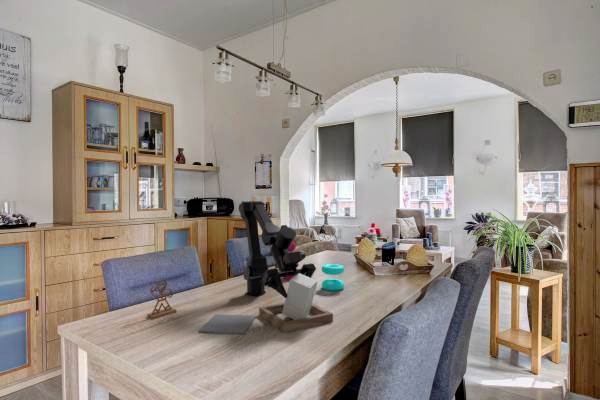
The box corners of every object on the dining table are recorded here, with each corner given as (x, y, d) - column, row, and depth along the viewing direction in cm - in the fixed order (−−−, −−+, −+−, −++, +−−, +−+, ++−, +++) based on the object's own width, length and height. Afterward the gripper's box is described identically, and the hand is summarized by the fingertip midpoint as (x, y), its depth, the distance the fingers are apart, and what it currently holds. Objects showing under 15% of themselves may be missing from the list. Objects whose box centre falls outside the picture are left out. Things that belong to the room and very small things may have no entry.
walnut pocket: (259, 314, 117) (259, 307, 117) (304, 306, 126) (304, 299, 126) (283, 332, 102) (283, 324, 102) (332, 321, 111) (332, 313, 111)
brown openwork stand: (170, 309, 123) (170, 276, 123) (176, 312, 121) (176, 278, 120) (146, 317, 116) (146, 281, 116) (153, 319, 113) (152, 283, 113)
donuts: (346, 264, 153) (340, 268, 144) (346, 286, 153) (340, 292, 144) (325, 262, 157) (318, 266, 148) (325, 284, 157) (318, 290, 148)
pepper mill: (298, 277, 172) (298, 237, 171) (294, 280, 165) (293, 238, 165) (285, 275, 174) (285, 236, 174) (280, 279, 167) (279, 238, 167)
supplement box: (309, 314, 116) (319, 280, 113) (300, 323, 109) (310, 288, 106) (290, 305, 118) (299, 272, 116) (280, 313, 112) (289, 279, 109)
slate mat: (215, 316, 116) (215, 314, 116) (255, 317, 115) (255, 315, 115) (198, 332, 102) (198, 330, 102) (244, 334, 101) (244, 332, 101)
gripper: (264, 245, 112) (281, 284, 103) (312, 240, 122) (331, 276, 112) (255, 266, 119) (271, 305, 109) (301, 260, 129) (319, 295, 119)
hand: (299, 294), depth 112 cm, fingers closed on supplement box, 9 cm apart
